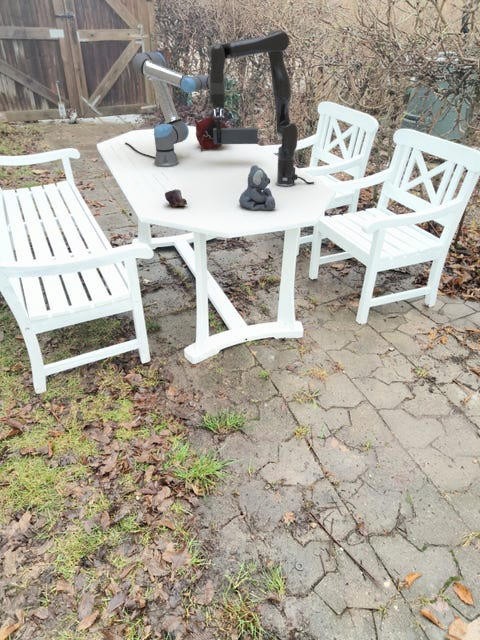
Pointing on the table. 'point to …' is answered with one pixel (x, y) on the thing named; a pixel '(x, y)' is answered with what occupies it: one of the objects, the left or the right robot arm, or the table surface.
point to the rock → (175, 198)
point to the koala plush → (257, 191)
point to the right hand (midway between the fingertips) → (218, 127)
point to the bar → (237, 136)
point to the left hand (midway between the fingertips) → (219, 141)
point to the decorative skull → (207, 132)
